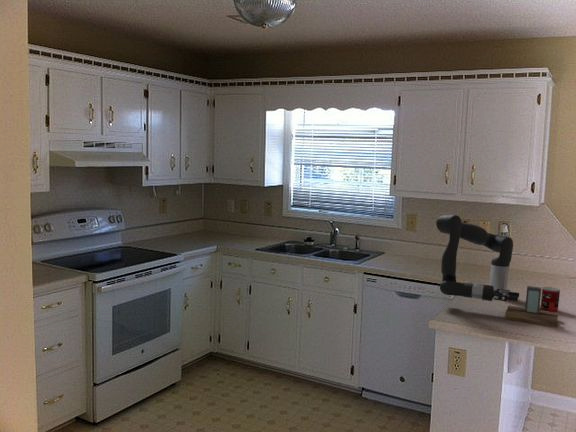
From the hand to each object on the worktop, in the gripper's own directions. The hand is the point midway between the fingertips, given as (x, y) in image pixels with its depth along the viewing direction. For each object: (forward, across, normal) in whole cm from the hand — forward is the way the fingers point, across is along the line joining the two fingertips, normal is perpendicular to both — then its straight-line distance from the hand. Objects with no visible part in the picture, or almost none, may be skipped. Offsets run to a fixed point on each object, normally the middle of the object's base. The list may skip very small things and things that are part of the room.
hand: (518, 297), depth 270 cm
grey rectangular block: (+6, 0, +8) cm, 10 cm away
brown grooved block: (+6, 0, +10) cm, 12 cm away
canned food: (+14, +24, +10) cm, 30 cm away
